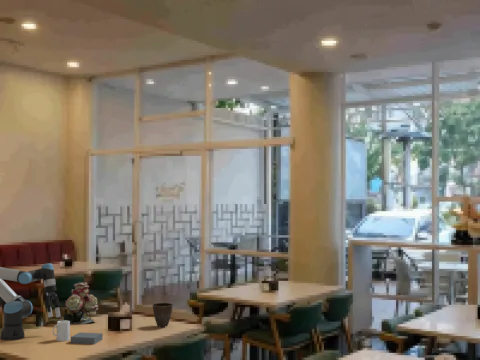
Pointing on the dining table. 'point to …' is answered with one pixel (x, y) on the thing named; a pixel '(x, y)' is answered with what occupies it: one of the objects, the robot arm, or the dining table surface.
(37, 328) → the dining table surface
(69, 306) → the rose bouquet
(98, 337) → the base block
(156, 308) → the plant pot
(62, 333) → the mug
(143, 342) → the dining table surface
